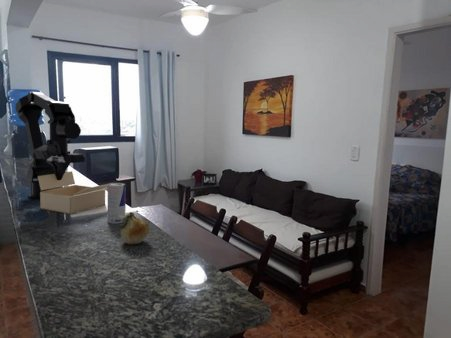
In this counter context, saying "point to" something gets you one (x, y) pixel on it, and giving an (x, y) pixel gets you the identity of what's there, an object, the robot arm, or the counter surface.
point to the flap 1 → (55, 181)
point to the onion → (133, 229)
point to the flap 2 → (92, 189)
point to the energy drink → (116, 202)
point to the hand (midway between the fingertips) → (59, 180)
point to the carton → (71, 199)
